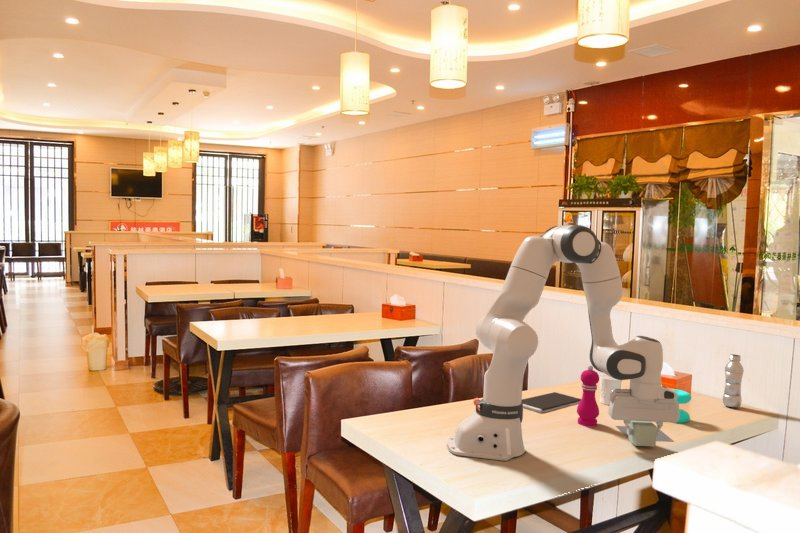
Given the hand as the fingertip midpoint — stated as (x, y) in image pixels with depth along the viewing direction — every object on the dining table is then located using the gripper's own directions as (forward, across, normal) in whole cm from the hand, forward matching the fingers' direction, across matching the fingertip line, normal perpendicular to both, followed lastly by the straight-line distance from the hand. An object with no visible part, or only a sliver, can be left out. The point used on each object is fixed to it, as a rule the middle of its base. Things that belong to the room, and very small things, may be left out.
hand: (642, 434), depth 188 cm
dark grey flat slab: (+4, -19, +44) cm, 48 cm away
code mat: (+4, +5, +12) cm, 14 cm away
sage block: (+2, 0, 0) cm, 2 cm away
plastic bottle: (+4, +52, +50) cm, 72 cm away
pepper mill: (+4, -11, +20) cm, 23 cm away
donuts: (+4, +22, +30) cm, 37 cm away
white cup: (+4, +5, +48) cm, 48 cm away
